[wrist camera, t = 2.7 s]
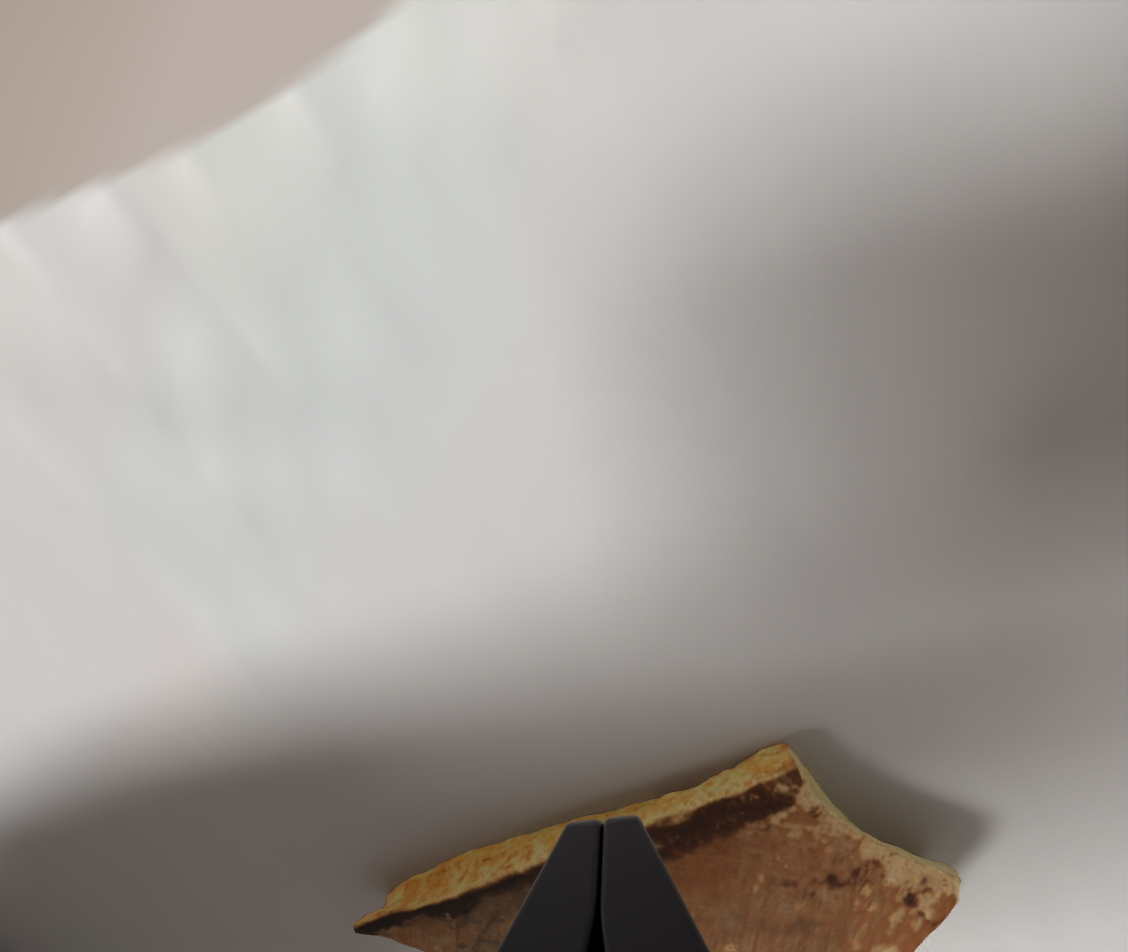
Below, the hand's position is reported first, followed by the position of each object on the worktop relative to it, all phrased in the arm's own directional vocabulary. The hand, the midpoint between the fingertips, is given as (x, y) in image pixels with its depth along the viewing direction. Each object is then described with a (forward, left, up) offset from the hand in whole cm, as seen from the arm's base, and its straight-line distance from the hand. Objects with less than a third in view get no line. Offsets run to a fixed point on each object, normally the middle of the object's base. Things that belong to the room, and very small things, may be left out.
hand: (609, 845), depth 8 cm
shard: (0, -8, -6) cm, 11 cm away
